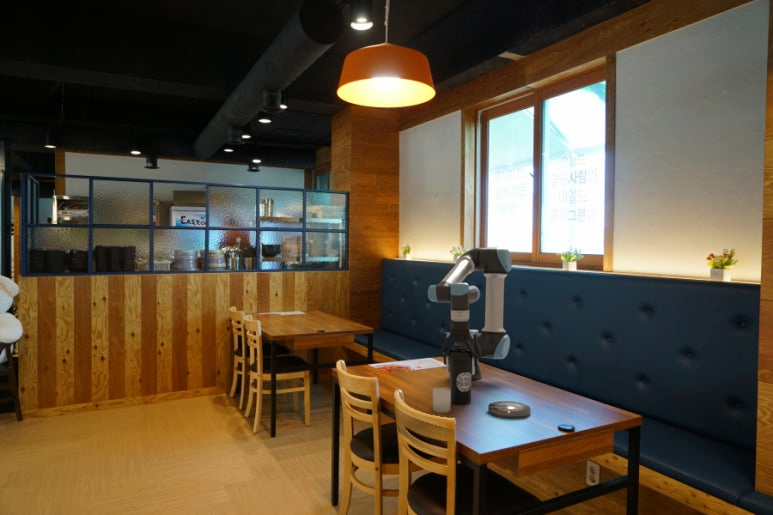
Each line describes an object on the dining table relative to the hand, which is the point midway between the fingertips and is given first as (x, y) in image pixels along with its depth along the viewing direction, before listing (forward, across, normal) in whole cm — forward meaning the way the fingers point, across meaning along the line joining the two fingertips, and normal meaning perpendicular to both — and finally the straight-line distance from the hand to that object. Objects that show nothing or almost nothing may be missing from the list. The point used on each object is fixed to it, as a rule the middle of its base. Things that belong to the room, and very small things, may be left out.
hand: (460, 373), depth 215 cm
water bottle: (+12, 0, 0) cm, 12 cm away
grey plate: (+12, +20, -9) cm, 25 cm away
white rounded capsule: (+12, -6, -12) cm, 18 cm away
